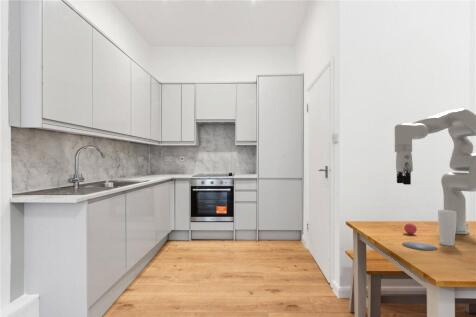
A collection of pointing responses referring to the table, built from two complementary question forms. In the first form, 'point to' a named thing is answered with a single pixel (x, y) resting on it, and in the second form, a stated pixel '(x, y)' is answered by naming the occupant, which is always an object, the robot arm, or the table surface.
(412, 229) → the ball
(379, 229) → the table surface
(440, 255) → the table surface
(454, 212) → the drinking glass
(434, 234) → the table surface
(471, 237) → the table surface
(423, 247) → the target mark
